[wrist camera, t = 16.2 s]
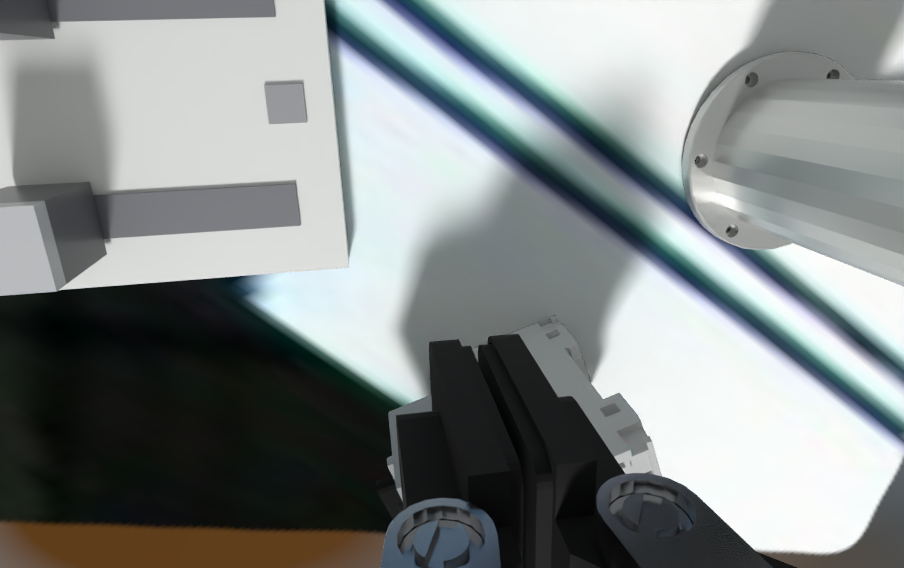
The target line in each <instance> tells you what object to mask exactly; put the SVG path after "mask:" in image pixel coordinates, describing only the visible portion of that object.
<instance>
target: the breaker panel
mask: <svg viewBox="0 0 904 568" xmlns="http://www.w3.org/2000/svg"><path fill="white" fill-rule="evenodd" d="M46 2H47V6H48V10H49V15H50V19H51V23H52V27H53V31H54V36H55V39H36V40H0V189H1V188H4V187H7V186H22V185H41V184H59V183H77V182H90V184H91V188H92V192H93V197H94V201H95V205H96V209H97V214H98V218H99V222H100V226H101V230H102V235H103V239H104V243H105V247H106V252H107V255H105V256H104V257H103V258H101V259H100V260H99V261H97V262H96V263H95V264H93V265H92V266H90V267H89V268H88V269H86V270H85V271H84V272H82V273H81V274H80V275H78V276H77V277H76V278H74V279H73V280H71V281H70V282H69V283H67V284H66V285H65V286H63V287H62V288H61V289H59V290H63V289H76V288H89V287H102V286H116V285H129V284H142V283H155V282H168V281H181V280H194V279H207V278H220V277H233V276H246V275H259V274H272V273H285V272H298V271H311V270H324V269H337V268H349V252H348V241H347V231H346V220H345V209H344V199H343V188H342V178H341V167H340V157H339V146H338V135H337V125H336V114H335V104H334V93H333V83H332V72H331V61H330V51H329V40H328V30H327V19H326V9H325V0H46Z"/></svg>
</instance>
